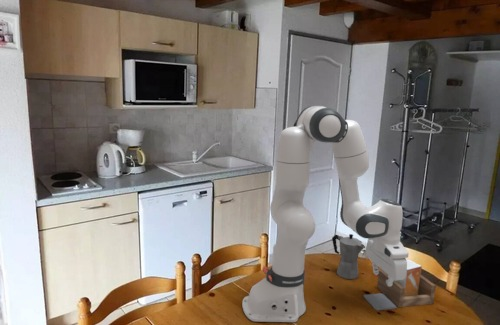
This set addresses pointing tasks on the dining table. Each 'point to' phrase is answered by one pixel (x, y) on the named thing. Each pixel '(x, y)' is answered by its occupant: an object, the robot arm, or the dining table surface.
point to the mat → (379, 301)
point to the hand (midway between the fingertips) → (382, 279)
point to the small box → (411, 279)
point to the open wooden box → (397, 290)
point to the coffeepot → (348, 255)
